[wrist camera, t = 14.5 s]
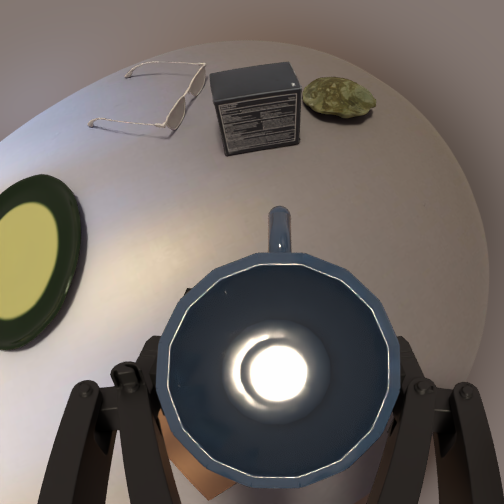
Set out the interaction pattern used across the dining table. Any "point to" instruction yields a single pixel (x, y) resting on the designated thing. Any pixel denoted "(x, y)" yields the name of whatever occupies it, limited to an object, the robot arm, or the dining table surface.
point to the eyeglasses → (179, 108)
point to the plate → (35, 256)
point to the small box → (257, 107)
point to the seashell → (338, 97)
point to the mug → (278, 367)
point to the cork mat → (192, 465)
